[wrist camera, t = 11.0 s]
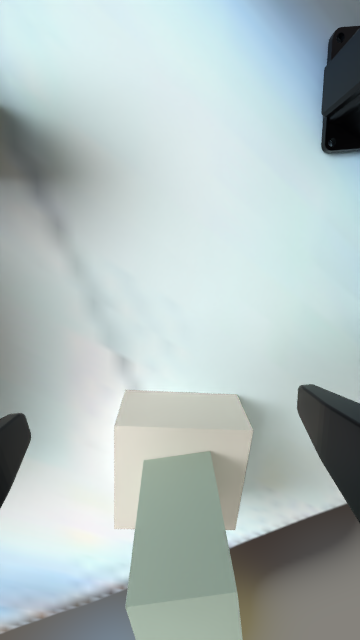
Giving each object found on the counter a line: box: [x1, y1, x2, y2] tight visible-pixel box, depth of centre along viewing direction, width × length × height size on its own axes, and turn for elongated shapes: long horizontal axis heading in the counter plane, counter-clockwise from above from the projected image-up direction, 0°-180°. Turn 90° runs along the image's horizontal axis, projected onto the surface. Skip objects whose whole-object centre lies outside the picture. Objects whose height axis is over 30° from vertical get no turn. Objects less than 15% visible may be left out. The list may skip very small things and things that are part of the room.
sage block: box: [126, 451, 243, 640], centre depth 16 cm, size 5×5×8 cm
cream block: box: [114, 390, 253, 530], centre depth 22 cm, size 10×10×5 cm
